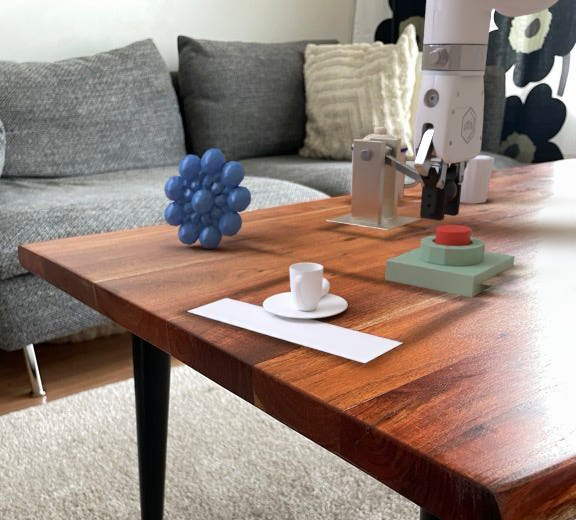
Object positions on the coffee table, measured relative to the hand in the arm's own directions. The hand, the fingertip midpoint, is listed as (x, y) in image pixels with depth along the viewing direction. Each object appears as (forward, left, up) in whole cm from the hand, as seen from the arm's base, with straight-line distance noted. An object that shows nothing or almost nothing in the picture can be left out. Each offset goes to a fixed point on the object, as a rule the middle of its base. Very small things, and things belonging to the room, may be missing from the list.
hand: (439, 215), depth 94 cm
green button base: (-10, +16, -3) cm, 19 cm away
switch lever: (+5, 0, +4) cm, 6 cm away
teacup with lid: (+19, -18, -3) cm, 26 cm away
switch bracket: (+10, 0, -3) cm, 10 cm away
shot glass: (+9, -28, -3) cm, 30 cm away
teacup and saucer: (-6, +32, -3) cm, 33 cm away
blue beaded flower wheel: (+20, +22, -3) cm, 30 cm away
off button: (-10, +16, +1) cm, 19 cm away
